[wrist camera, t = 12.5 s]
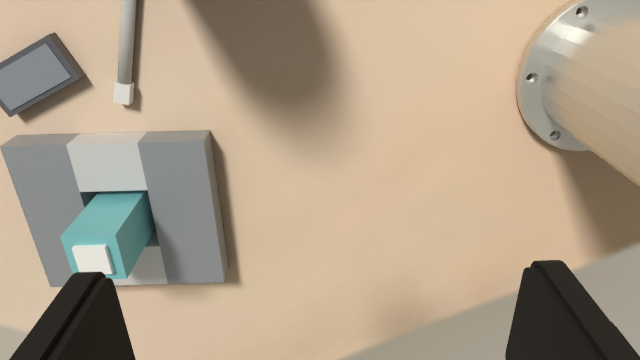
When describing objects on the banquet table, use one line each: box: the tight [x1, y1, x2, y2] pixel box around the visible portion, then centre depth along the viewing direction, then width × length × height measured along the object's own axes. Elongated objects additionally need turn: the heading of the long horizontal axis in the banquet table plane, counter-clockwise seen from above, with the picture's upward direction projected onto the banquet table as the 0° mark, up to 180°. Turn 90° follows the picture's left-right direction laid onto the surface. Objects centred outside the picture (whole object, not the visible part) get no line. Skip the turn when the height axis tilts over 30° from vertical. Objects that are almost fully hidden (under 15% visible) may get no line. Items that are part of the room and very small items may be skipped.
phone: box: [0, 33, 86, 117], centre depth 36 cm, size 7×4×1 cm, turn 116°
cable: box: [113, 0, 136, 105], centre depth 35 cm, size 11×1×1 cm, turn 166°
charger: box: [60, 190, 156, 279], centre depth 38 cm, size 4×4×8 cm
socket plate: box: [0, 130, 229, 287], centre depth 41 cm, size 16×14×2 cm
